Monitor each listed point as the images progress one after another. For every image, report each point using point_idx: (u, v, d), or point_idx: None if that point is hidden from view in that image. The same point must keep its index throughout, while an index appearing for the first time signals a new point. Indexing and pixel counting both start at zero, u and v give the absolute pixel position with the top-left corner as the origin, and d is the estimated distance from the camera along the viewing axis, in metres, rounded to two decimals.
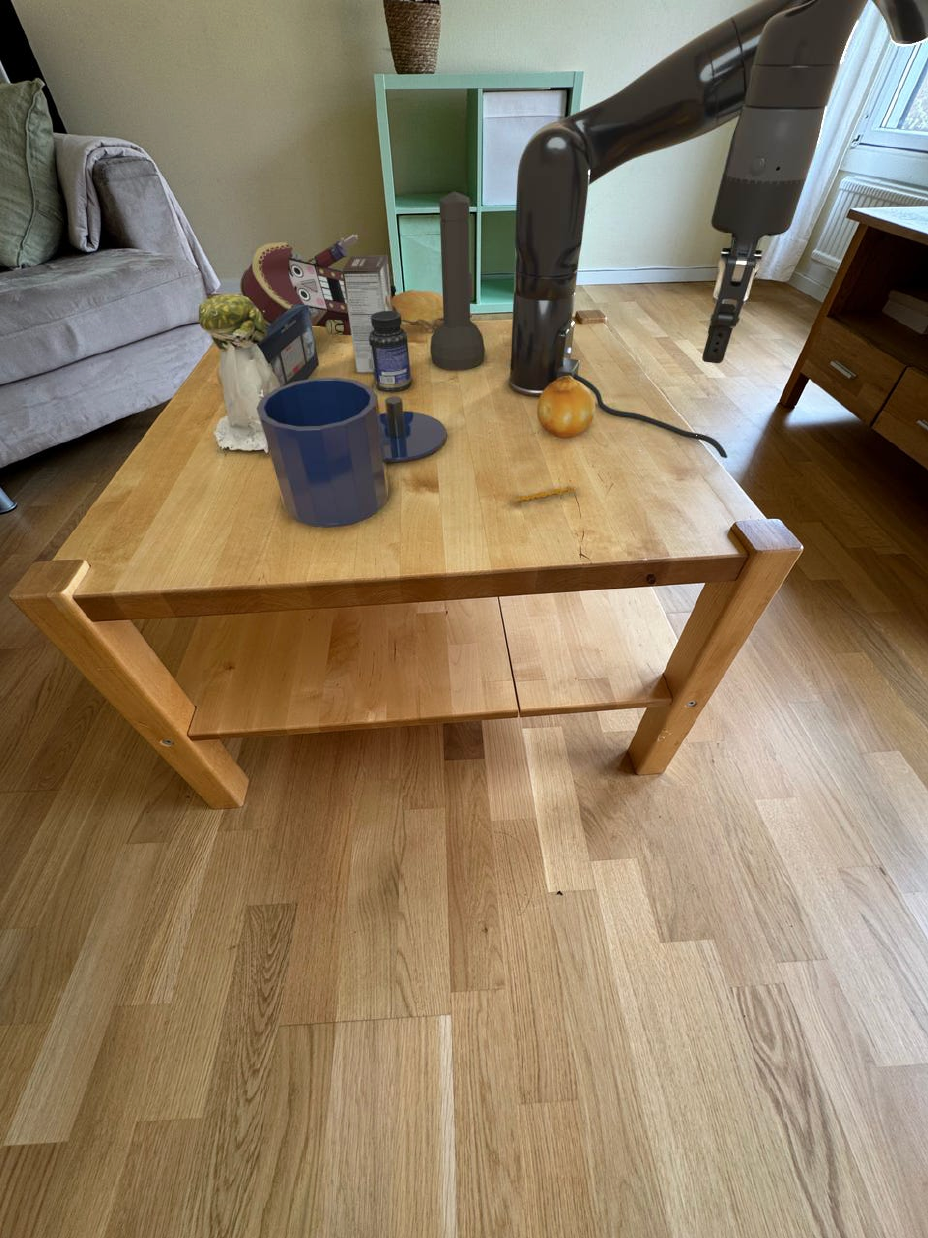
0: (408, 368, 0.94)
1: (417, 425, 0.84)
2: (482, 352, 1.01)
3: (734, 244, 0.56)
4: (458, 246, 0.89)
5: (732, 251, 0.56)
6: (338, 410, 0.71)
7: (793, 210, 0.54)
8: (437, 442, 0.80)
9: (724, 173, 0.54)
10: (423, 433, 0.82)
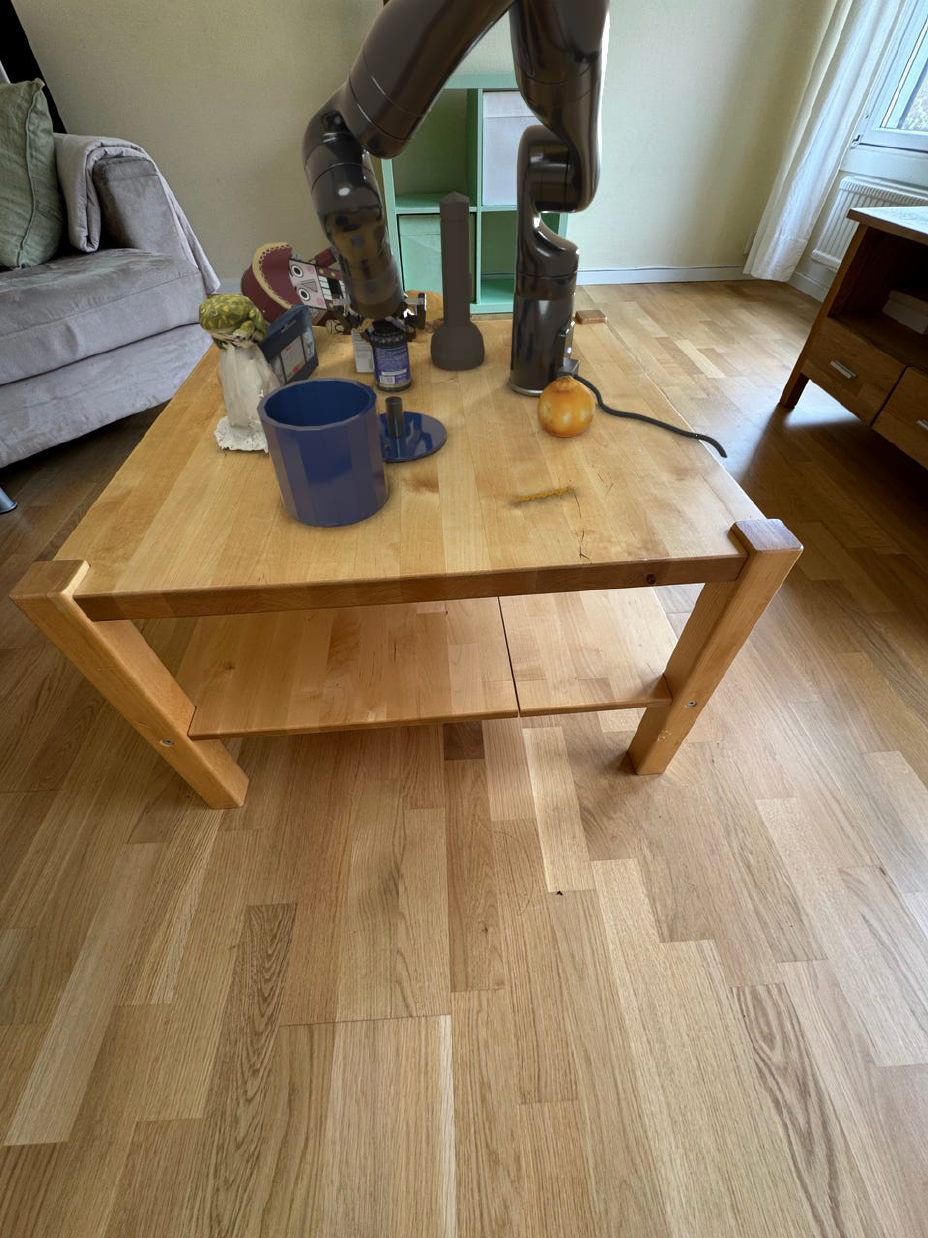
0: (408, 368, 0.94)
1: (417, 425, 0.84)
2: (482, 352, 1.01)
3: (401, 304, 0.81)
4: (458, 246, 0.89)
5: (403, 306, 0.82)
6: (338, 410, 0.71)
7: None
8: (437, 442, 0.80)
9: (379, 302, 0.76)
10: (423, 433, 0.82)
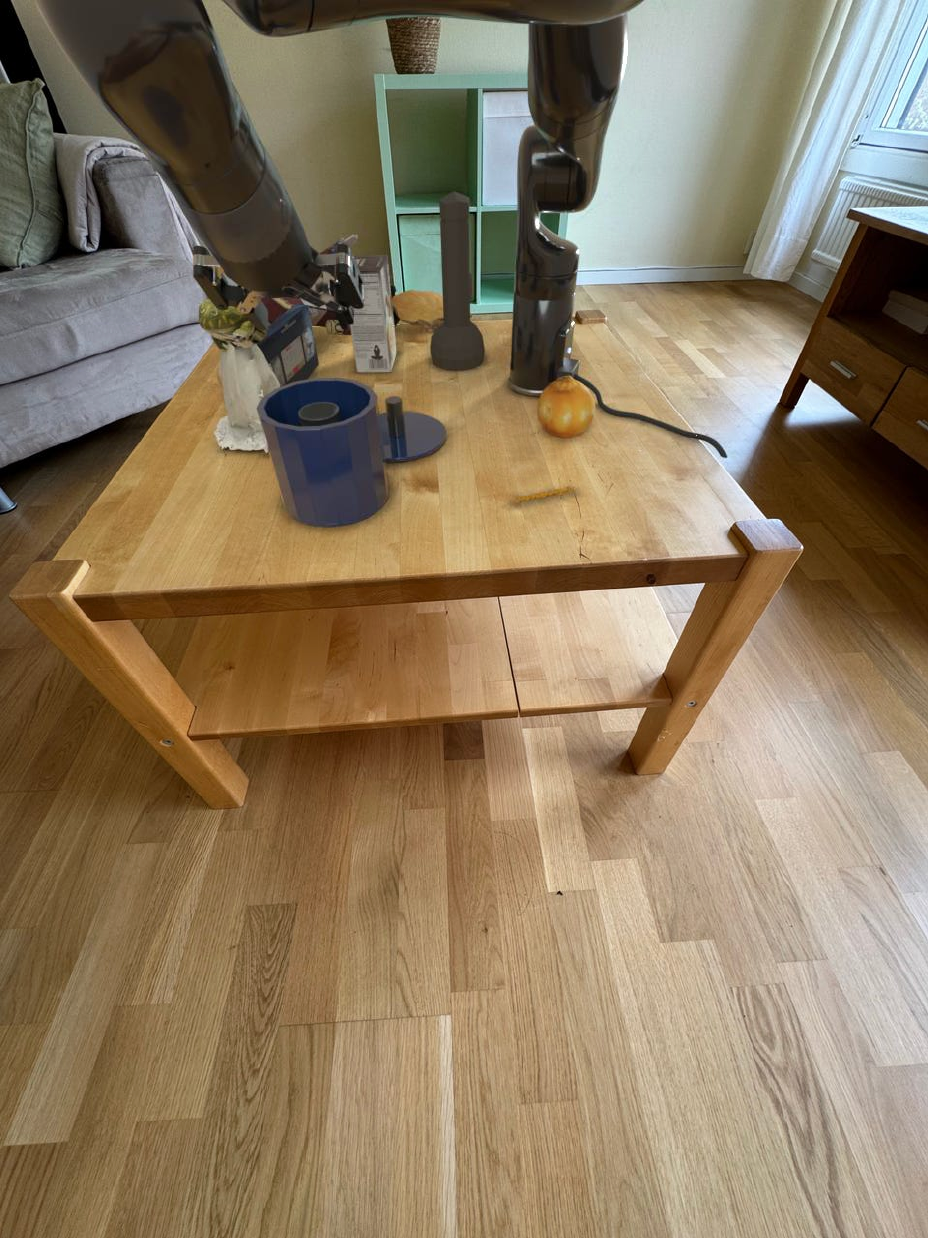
0: None
1: (417, 425, 0.84)
2: (482, 352, 1.01)
3: (308, 266, 0.48)
4: (458, 246, 0.89)
5: (311, 270, 0.49)
6: None
7: None
8: (437, 442, 0.80)
9: (257, 259, 0.43)
10: (423, 433, 0.82)
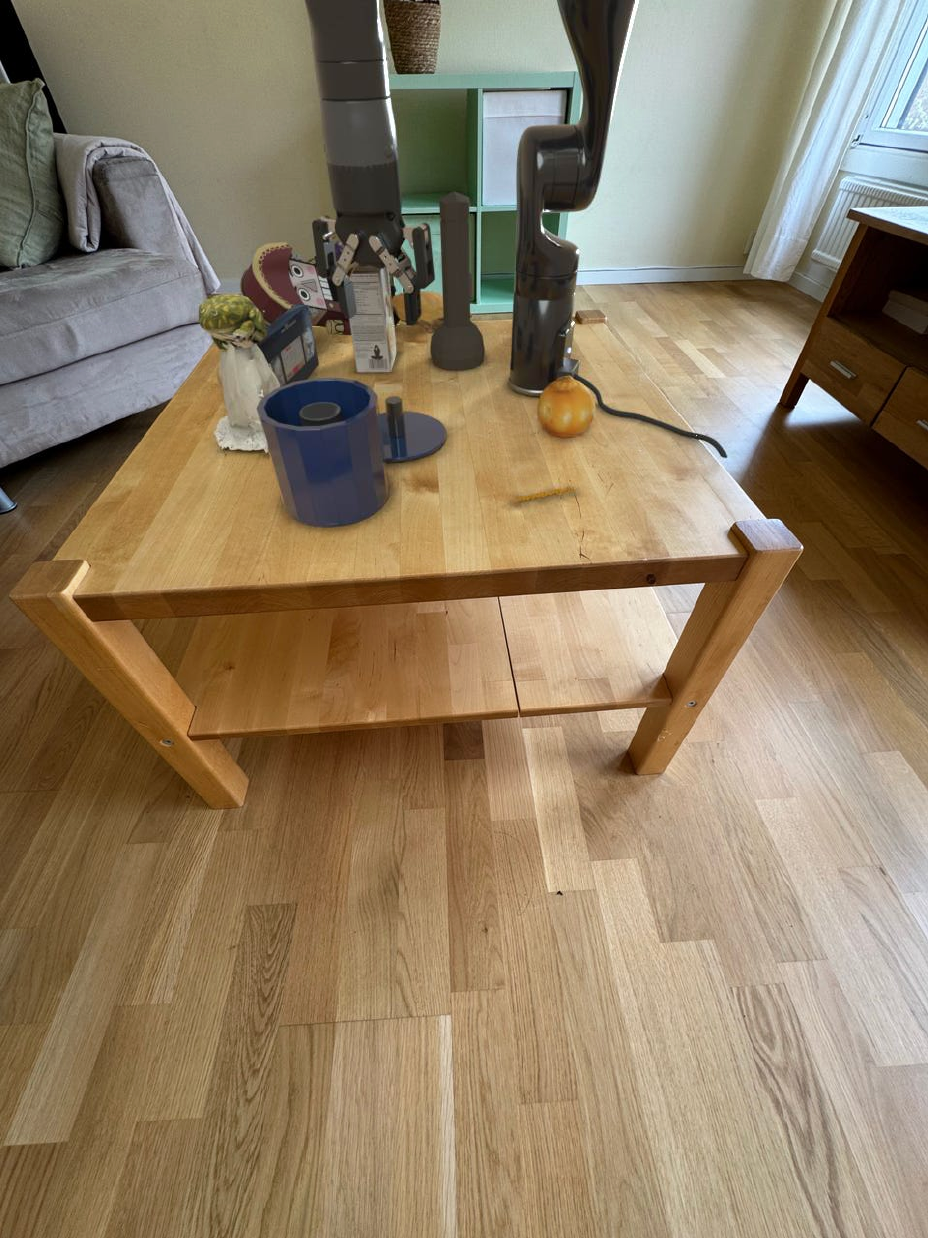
0: None
1: (417, 425, 0.84)
2: (482, 352, 1.01)
3: (393, 221, 0.62)
4: (458, 246, 0.89)
5: (395, 227, 0.62)
6: None
7: None
8: (437, 442, 0.80)
9: (356, 165, 0.57)
10: (423, 433, 0.82)
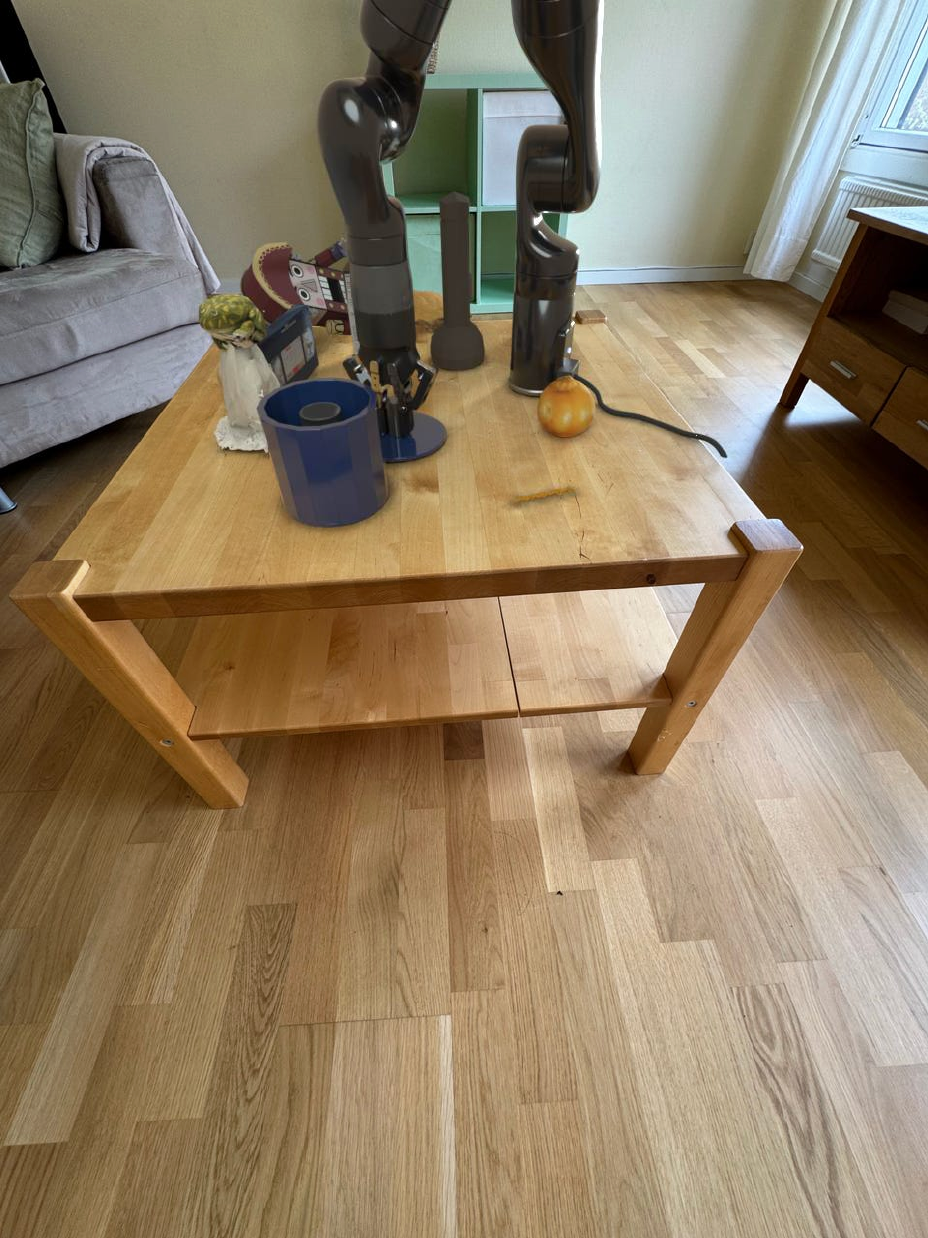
0: None
1: (417, 425, 0.84)
2: (482, 352, 1.01)
3: (409, 352, 0.72)
4: (458, 246, 0.89)
5: (410, 357, 0.73)
6: None
7: None
8: (437, 442, 0.80)
9: (378, 313, 0.67)
10: (423, 433, 0.82)
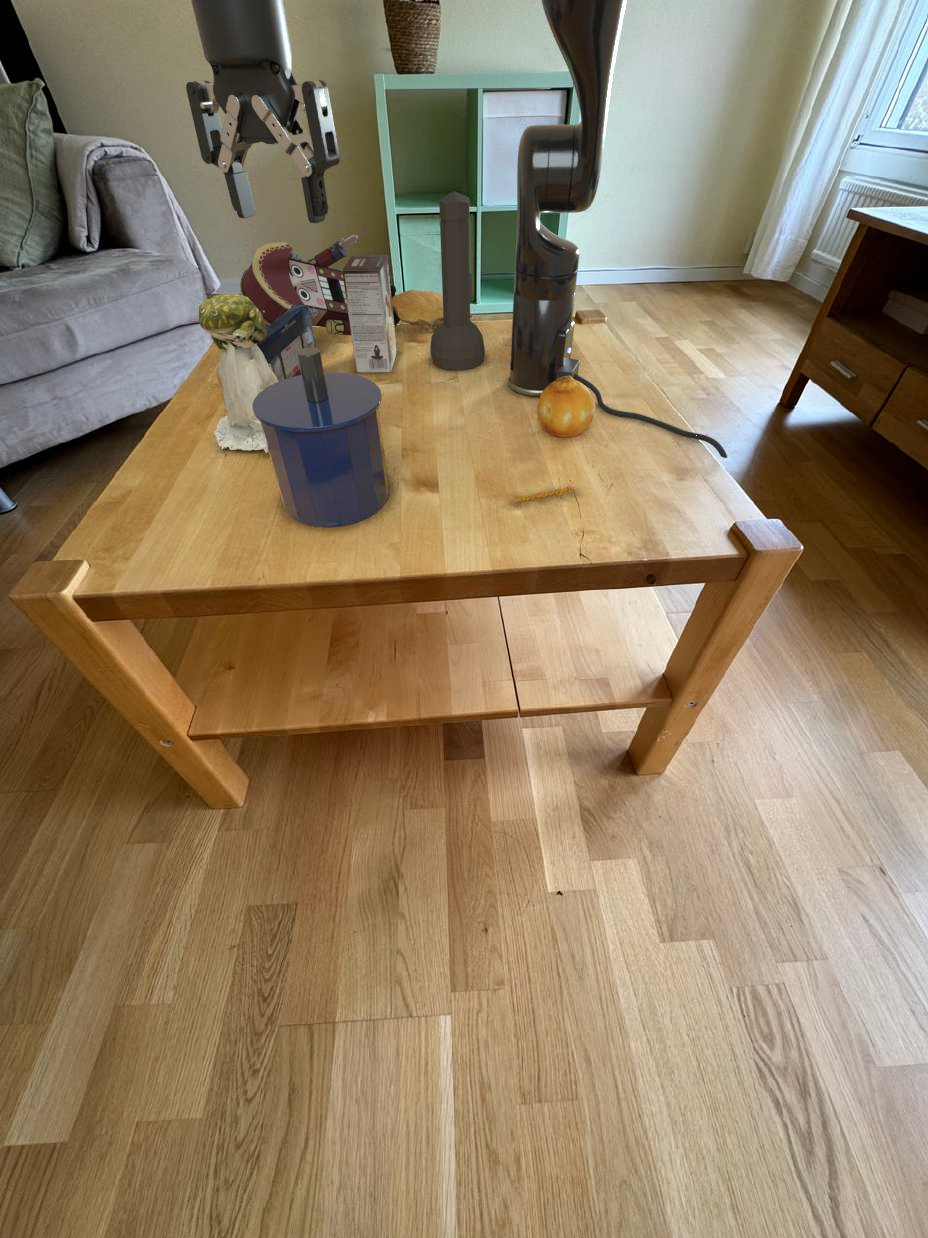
0: None
1: (345, 388, 0.65)
2: (482, 352, 1.01)
3: (279, 74, 0.50)
4: (458, 246, 0.89)
5: (282, 83, 0.50)
6: None
7: None
8: (367, 408, 0.62)
9: None
10: (351, 397, 0.63)
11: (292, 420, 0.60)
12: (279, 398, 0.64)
